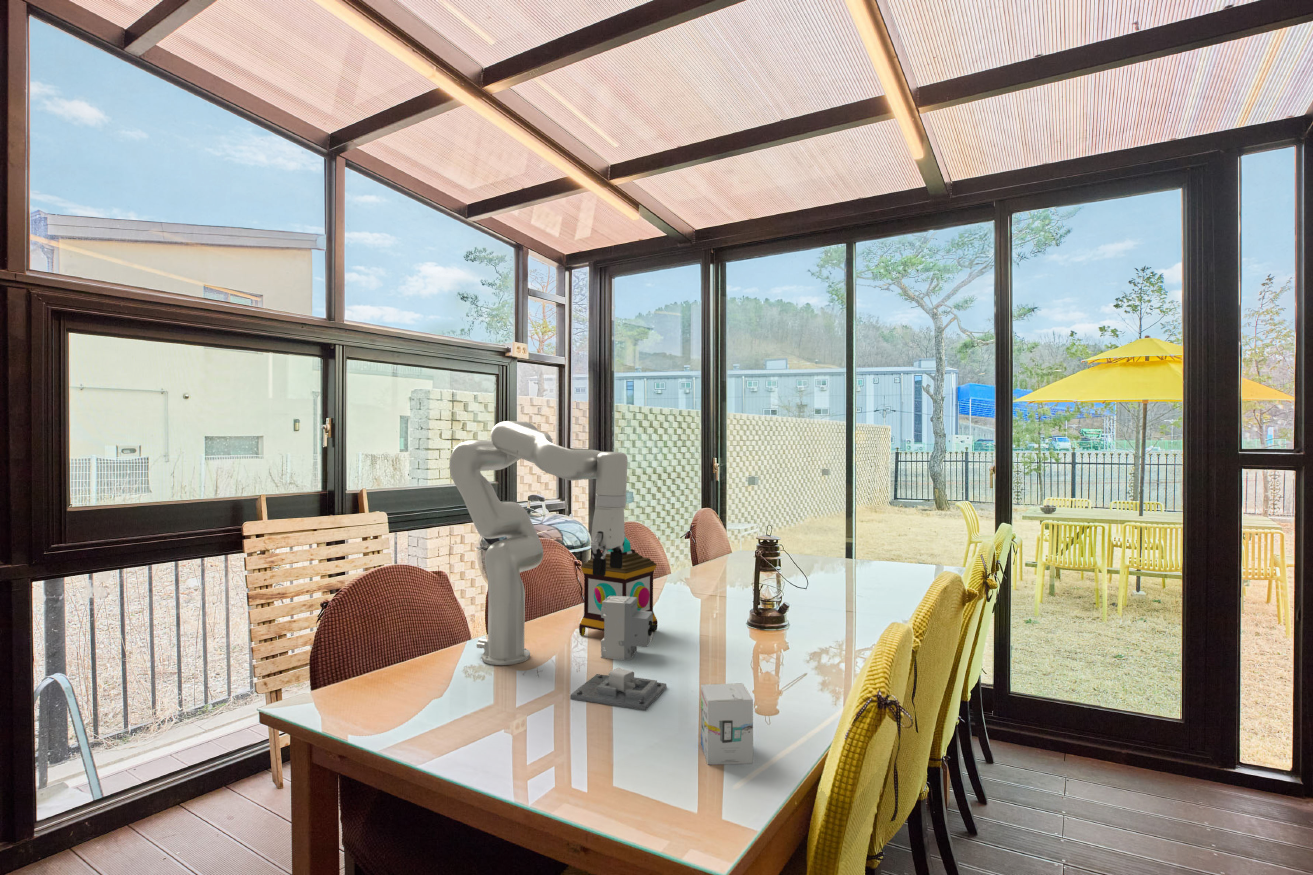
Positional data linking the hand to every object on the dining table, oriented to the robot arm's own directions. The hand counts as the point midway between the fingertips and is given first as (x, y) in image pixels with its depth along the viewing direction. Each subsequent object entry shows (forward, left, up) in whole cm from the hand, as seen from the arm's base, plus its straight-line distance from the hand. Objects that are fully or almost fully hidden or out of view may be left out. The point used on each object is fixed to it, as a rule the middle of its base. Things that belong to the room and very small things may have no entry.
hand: (607, 571), depth 161 cm
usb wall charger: (+8, -8, -25) cm, 28 cm away
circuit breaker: (-1, +18, -26) cm, 32 cm away
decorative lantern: (-12, +36, -26) cm, 46 cm away
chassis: (+7, -8, -26) cm, 28 cm away
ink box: (+37, -28, -26) cm, 53 cm away
